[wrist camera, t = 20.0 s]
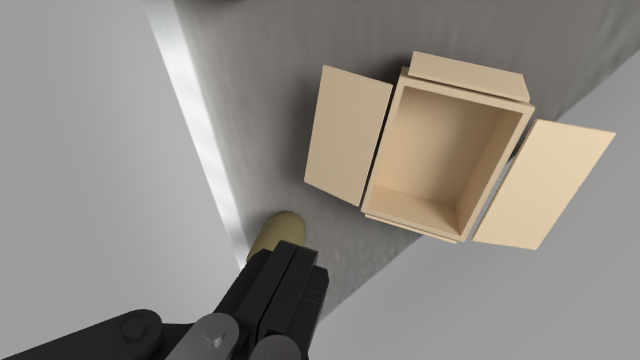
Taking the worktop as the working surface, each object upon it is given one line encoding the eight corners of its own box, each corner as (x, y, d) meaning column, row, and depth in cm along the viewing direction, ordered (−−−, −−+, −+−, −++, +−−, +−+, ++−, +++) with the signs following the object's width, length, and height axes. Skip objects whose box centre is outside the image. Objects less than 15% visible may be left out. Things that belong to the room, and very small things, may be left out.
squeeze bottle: (319, 222, 58) (283, 298, 42) (299, 248, 62) (259, 326, 47) (281, 197, 57) (232, 265, 42) (264, 225, 62) (213, 296, 46)
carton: (407, 48, 41) (405, 55, 34) (524, 73, 39) (546, 86, 32) (364, 196, 53) (356, 223, 46) (452, 222, 51) (457, 254, 44)
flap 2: (537, 119, 33) (616, 133, 34) (535, 118, 34) (613, 132, 34) (472, 240, 42) (536, 249, 42) (470, 238, 42) (534, 247, 43)
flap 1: (393, 84, 36) (325, 64, 39) (391, 85, 36) (323, 65, 39) (358, 205, 44) (305, 180, 48) (357, 206, 44) (303, 181, 47)
